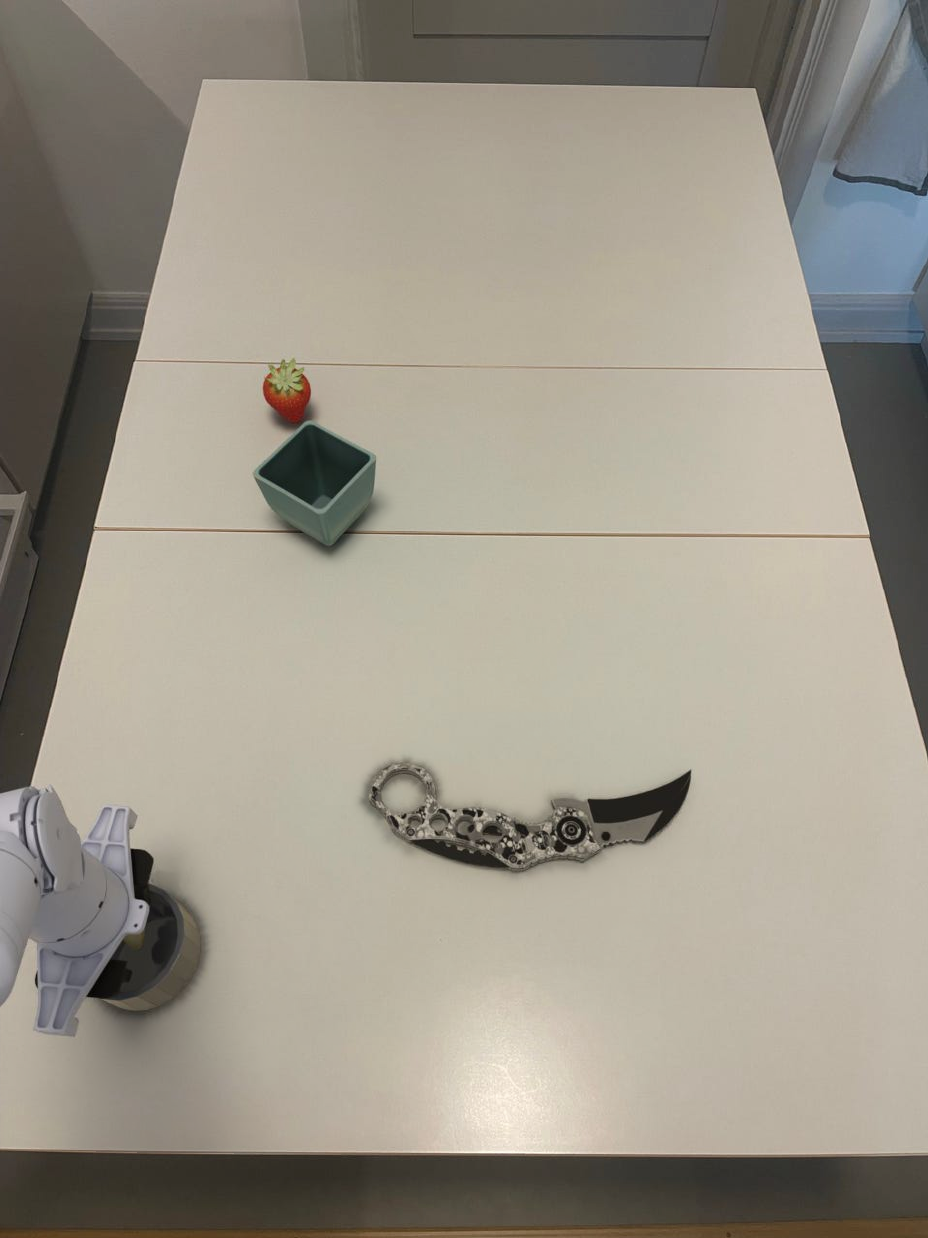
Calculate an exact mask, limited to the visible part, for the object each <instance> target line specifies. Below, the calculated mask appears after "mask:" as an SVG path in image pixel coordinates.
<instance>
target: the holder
mask: <svg viewBox="0 0 928 1238" xmlns="http://www.w3.org/2000/svg"><path fill="white" fill-rule="evenodd" d="M148 885H149V892H150V898H151V902H150V906H149V913H148V917H147V921H146V925H145V938H144V945H143V947H142V949H140V950H134V949H132V948H131V947H130V946H128V945H127V944H126V943H125V942H124V940H123V939H122V941H121V943H120V944H119V946H118V947H117V949H116V950H115V952H114V954H113V955H112V957H111V958H110V959H113V960H123V961H127V965H126V968H127V969H129V970H132V975H131V979H130V981H129V982H128V983H127V982H124V983H122V984H121V987H120V990H119V992H118V995H117V996H115V997H112V998H107V999H101V1000H103V1001H104V1002H106V1003H108V1004H111V1005H113V1006H115V1007H118V1008H120V1009H123V1010H127V1011H136V1012H137V1011H139V1012H141V1011H149V1010H151V1009H155V1008H157V1007H160V1006H163V1005H164V1004H166V1003H169V1002H170V1001H171V1000H173V999H174V998H175V997H176V996H178V995H179V994H180V993H182V991H183V990H184V989H185V987H187V985H188V984H189V982H190V981H191V980H192V978H193V976H194V975H195V972H196V971H197V968H198V965H199V961H200V958H201V952H202V941H201V934H200V930H199V926H198V924H197V922H196V921H195V918H193V916H192V915H191V913H190V912H188V911H187V909H186V908H185V907H184V906H182V904H180V903H179V901H177V899H176V898H174V897H173V896H172V895H171V894H170V893H169V892H168V891H167V890H165V889H163V888H161V887H160V886H157V885H155V884H153V883H149V882H148Z"/></svg>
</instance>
